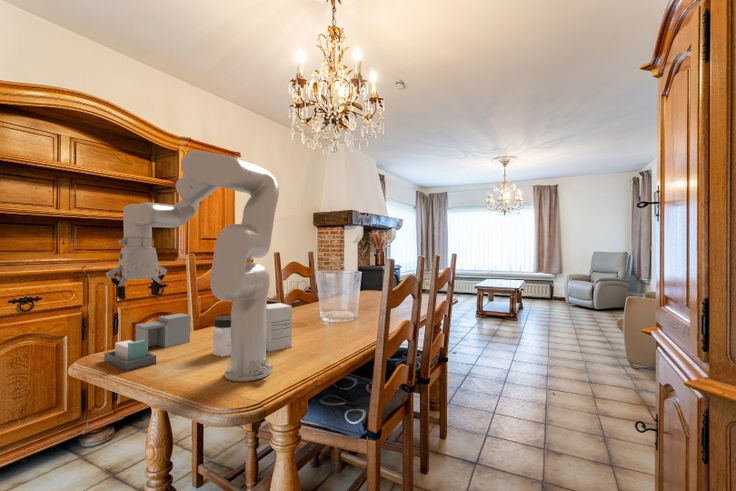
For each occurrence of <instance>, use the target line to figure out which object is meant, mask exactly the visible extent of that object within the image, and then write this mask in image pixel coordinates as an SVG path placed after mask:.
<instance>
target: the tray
mask: <svg viewBox="0 0 736 491" xmlns="http://www.w3.org/2000/svg"><path fill="white" fill-rule="evenodd" d="M103 356H104V358H103V361H104V363H108V364H109V365H111V366H114V367H115V368H118V369H121V370H123V371H125V372H130V371H135V370H138V369H142V368H146V367H149V366H153V365H157V355H156V354H153V353H150V352H149V351H148V352H145V358H141V359H137V360H133V361H129V362H126V361H124V360H122V359H119V358H117V357H115V350H112V351H108V352H104V354H103Z"/></svg>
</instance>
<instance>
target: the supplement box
mask: <svg viewBox="0 0 736 491" xmlns="http://www.w3.org/2000/svg"><path fill="white" fill-rule="evenodd" d="M292 332H293V306H292V305H289V304H286V303H282V302H277V303H267V305H266V352H267V351H268V352H274V351H279V350H285V349H288V348H292V346H293V345H292V344H293V340H292V338H293V333H292Z"/></svg>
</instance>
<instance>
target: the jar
mask: <svg viewBox="0 0 736 491" xmlns="http://www.w3.org/2000/svg"><path fill="white" fill-rule="evenodd" d="M213 322H214V323H213V324H214V326H213V327H212V355H214V356H217V357H221V358H223V357H228V356H230V357H231V314H230V315H227V314H226V315H220V316H217V317H215V318H214V321H213Z"/></svg>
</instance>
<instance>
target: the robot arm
mask: <svg viewBox="0 0 736 491" xmlns="http://www.w3.org/2000/svg"><path fill="white" fill-rule="evenodd" d="M180 170H181V172H182V174H183V176H182V177H180V178H178V180H176V182H175V190H176V193H177V194H178V195H179V197H180V198H181V199H180V200H179V201H177V202H176V203H175V204H167V203H160V202H159V203H157V202H148V201H146V202H141V203H139V204H136V203H135V204H134V203H133V204H132V203H131V204H127V205H125V206H124V207H123V237H122V239H119V240H118V244H119V245H122V246H123V247H122V248H121V250H120V253H119V260H118V266H117V267H114V268H113V269H111V270H109V271H107V272H105V276H106V277H107V278H108V280H109V282H110V283H111V284H113V285H114V286H115V287H116V297H117V299H118V300H125V299H126V287H125V286H124V285H125V284H126V282H127V281H128V280H129V281H131V280H132V281H133V280H147V279H149V280H150V281H152V282H151V284H150V291H151V296H159V292H160V283H161V282H162V281H163V279H165V276H166V275H167V272H168V269H167V268H165V267H163V266H161V265H159V262H158V254H157V251H156V247H153V230H152V228H165V229H168V228H169V229H174V228H178V227H180V226H182V225H184V224H185V223H187V222H188V221H190V220H191V219H193V218H194V217H195V216H196V214H197V212H198V211H199V207H200V202H202V201H203V200H204V199H206V198H207V197H208V196H210V195H211V194H213V193H214V192H216V191H217V190H219V189H220V188H222V189H227V190H232V191H235V192H240V193H246V194H249V195H250V197H249V199H248V200H247V201H246V203H245V206H244V207H243V214H242V218H241V219H242V220H241V223H233V224H229V225H226V226H225V227H224V228H222V229H221V230H220V232H219V234H218V235H217V237H216V240H215V244H214V251H213V256H212V257H213V258H212V264H211V271H210V279H209V281H210V282H209V284H210V289H211V293H212V294H213V296H214V297H215V298H216V299H218V300H220V301H222V302H233V303H232V306H231V312H230V315H231V355H230V367H228V368H227V369H226V370H225V371H224V378H225V379H226V380H229V381H231V382H240V383H241V382H252V381H256V380H261V379H263V378H265V377H268V375H270V374H271V373H272V370H273V369H274V366H273V365H272V364H270V363H269V358H268V357H267V350H266V305H267V304H268V303H267V302H268V294H269V290H270V289H269V288H270V282H271V280H270V274H269V271H268V270H267V269H266V267H265V266H263V265H262V264H260V263H256V262H247V261H248V260H255V259H261V258H264V257H265V256H266V255H268V253H269V251H270V247H271V242H272V238H273V236H272V235H273V229H274V223H275V215H276V210H277V205H278V201H279V194H280V188H279V185H278V181H277V179H276V178H275V176H274V175H273V174H272V173H271V172H269V171H268V170H266V168H263V167H261V166H259V165H257V164H254V163H251V162H249V161H246V160H243V159H240V158H238V157H237V158H236V157H234V156H230V155H225V154H222V153H221V154H220V153H215V152H210V151H205V150H202V149H194V150H191V151H189V152H187V153H186V154H185V155H184V156H183V157H182V159H181V163H180ZM159 272H160V273H159ZM117 273H118V279H117V278H116V277H115V274H117Z"/></svg>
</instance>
